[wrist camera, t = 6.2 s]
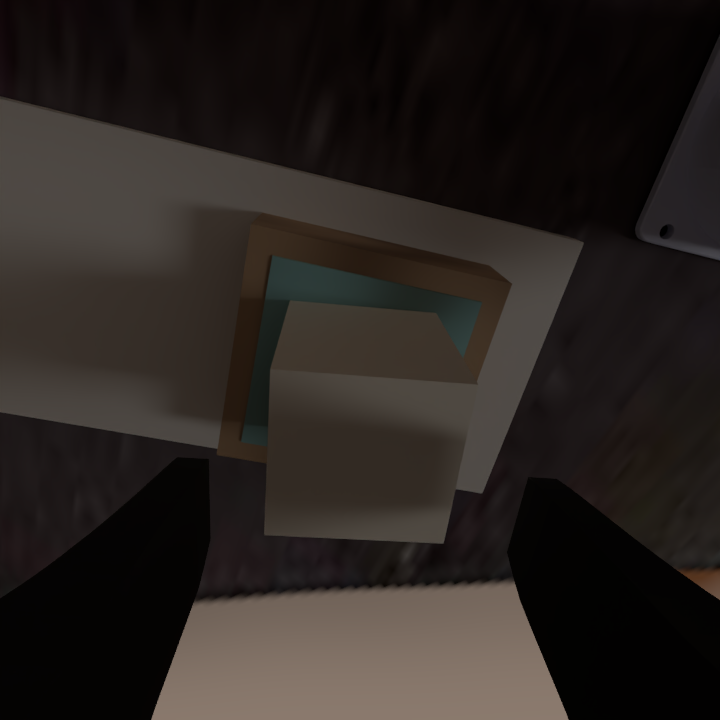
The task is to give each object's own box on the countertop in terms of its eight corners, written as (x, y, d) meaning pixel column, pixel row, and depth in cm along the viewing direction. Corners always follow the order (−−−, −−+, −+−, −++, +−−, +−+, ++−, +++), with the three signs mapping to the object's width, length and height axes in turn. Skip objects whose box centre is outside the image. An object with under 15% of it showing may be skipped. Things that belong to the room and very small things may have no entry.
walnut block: (489, 265, 18) (513, 284, 15) (425, 452, 21) (437, 493, 18) (262, 212, 17) (250, 224, 14) (230, 418, 20) (216, 456, 17)
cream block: (436, 313, 15) (478, 384, 11) (414, 436, 17) (443, 543, 13) (289, 300, 15) (270, 369, 11) (283, 428, 17) (264, 534, 12)
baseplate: (571, 237, 18) (583, 242, 17) (476, 479, 23) (482, 493, 22) (-12, 93, 16) (-33, 90, 15) (2, 397, 20) (-14, 409, 19)
